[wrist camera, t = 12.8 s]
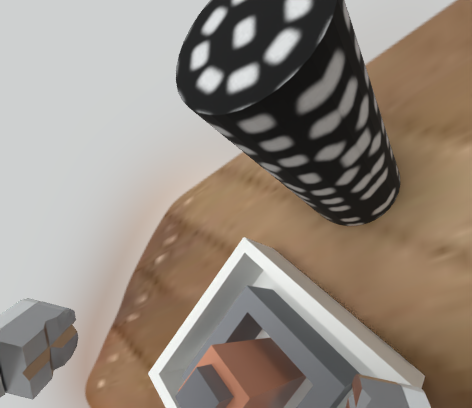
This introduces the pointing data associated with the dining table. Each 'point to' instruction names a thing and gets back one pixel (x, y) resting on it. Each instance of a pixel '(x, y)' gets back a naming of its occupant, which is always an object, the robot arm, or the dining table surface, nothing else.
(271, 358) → the connector
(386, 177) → the spotted tube
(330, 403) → the walled box
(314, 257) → the dining table surface
